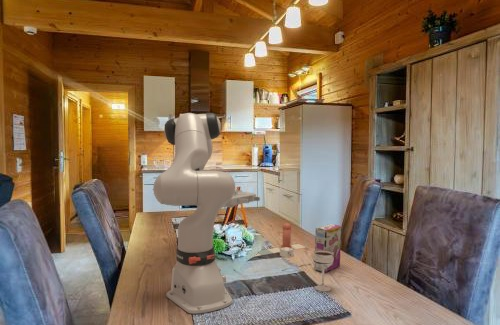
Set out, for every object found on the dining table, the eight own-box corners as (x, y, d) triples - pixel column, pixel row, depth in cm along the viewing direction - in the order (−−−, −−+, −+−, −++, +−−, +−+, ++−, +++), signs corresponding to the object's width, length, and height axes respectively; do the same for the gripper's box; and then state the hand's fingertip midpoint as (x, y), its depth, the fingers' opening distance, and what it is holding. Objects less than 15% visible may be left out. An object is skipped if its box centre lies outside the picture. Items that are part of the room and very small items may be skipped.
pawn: (293, 249, 151) (294, 223, 150) (285, 250, 148) (285, 224, 148) (287, 246, 155) (288, 221, 154) (279, 247, 152) (279, 222, 152)
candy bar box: (325, 274, 124) (326, 230, 123) (313, 270, 127) (314, 227, 126) (341, 266, 131) (341, 225, 131) (330, 263, 135) (330, 223, 134)
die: (293, 258, 141) (293, 249, 141) (287, 260, 138) (287, 250, 138) (286, 256, 144) (286, 246, 144) (279, 258, 141) (279, 248, 141)
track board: (309, 250, 152) (309, 248, 151) (251, 261, 137) (251, 258, 137) (295, 244, 160) (295, 242, 160) (240, 254, 146) (240, 252, 146)
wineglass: (334, 293, 107) (334, 256, 107) (312, 291, 108) (313, 255, 108) (332, 284, 114) (333, 250, 113) (312, 283, 115) (312, 248, 115)
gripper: (216, 193, 154) (241, 195, 146) (241, 189, 171) (264, 191, 163) (216, 207, 154) (241, 209, 146) (241, 202, 171) (264, 204, 164)
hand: (253, 200), depth 155 cm, fingers open, 8 cm apart
